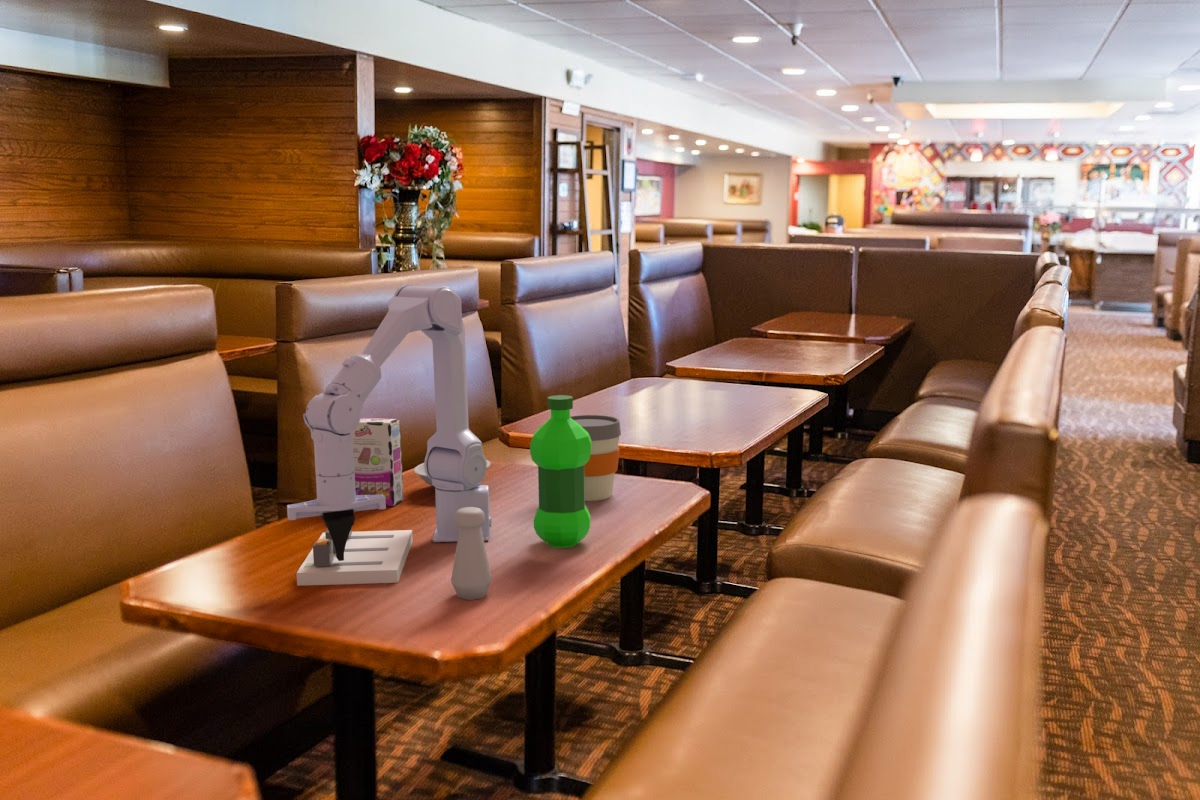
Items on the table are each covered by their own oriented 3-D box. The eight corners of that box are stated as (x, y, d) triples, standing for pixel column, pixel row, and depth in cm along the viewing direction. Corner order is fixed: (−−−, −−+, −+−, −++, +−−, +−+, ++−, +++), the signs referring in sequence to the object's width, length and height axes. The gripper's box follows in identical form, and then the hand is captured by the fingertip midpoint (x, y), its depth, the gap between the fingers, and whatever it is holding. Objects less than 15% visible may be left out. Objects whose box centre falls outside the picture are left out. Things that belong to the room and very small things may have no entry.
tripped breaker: (333, 559, 166) (332, 537, 166) (330, 565, 163) (328, 543, 163) (317, 560, 166) (316, 538, 166) (314, 566, 163) (312, 544, 163)
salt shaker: (474, 604, 153) (471, 516, 151) (443, 597, 156) (440, 511, 154) (499, 592, 158) (497, 507, 156) (469, 585, 161) (466, 501, 159)
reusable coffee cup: (560, 486, 219) (559, 414, 216) (621, 487, 219) (621, 414, 216) (555, 503, 207) (554, 426, 204) (620, 503, 206) (620, 426, 204)
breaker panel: (412, 541, 183) (412, 529, 183) (397, 582, 163) (397, 569, 162) (323, 543, 182) (322, 531, 182) (297, 585, 162) (296, 572, 161)
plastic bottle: (593, 533, 186) (591, 392, 182) (591, 552, 176) (589, 402, 172) (535, 534, 187) (532, 392, 182) (530, 552, 176) (527, 403, 172)
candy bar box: (404, 500, 210) (401, 418, 207) (394, 507, 205) (390, 422, 202) (352, 497, 212) (347, 416, 209) (340, 504, 207) (336, 421, 205)
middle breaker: (344, 545, 173) (343, 526, 173) (341, 551, 170) (340, 532, 170) (329, 546, 173) (328, 527, 173) (326, 552, 170) (325, 532, 170)
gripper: (377, 462, 169) (381, 545, 171) (282, 472, 163) (287, 558, 165) (387, 471, 163) (391, 558, 165) (288, 482, 157) (294, 571, 159)
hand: (339, 559), depth 165 cm, fingers closed
